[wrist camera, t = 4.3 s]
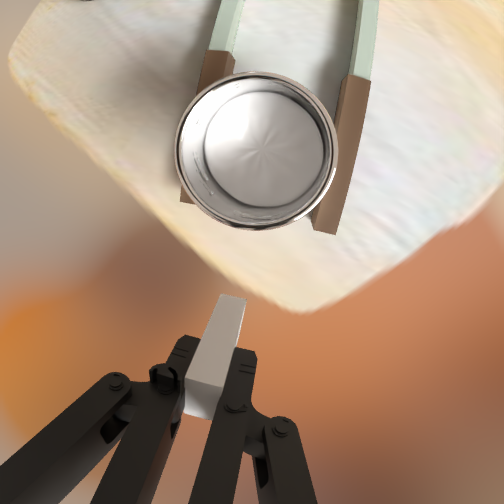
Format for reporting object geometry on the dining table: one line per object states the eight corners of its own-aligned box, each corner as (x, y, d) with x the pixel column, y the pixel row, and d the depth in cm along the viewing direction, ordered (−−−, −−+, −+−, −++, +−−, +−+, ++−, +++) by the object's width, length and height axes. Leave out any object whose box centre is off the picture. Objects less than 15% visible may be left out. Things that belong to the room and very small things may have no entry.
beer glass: (268, 199, 26) (246, 267, 12) (219, 144, 24) (138, 149, 10) (325, 153, 23) (378, 165, 10) (275, 96, 22) (261, 35, 8)
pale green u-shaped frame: (214, 58, 21) (207, 51, 19) (241, -34, 16) (237, -46, 13) (362, 87, 20) (369, 82, 18) (373, -10, 15) (380, -20, 13)
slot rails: (190, 195, 26) (179, 201, 24) (214, 58, 21) (206, 49, 18) (330, 225, 26) (335, 235, 23) (362, 87, 20) (371, 80, 18)
